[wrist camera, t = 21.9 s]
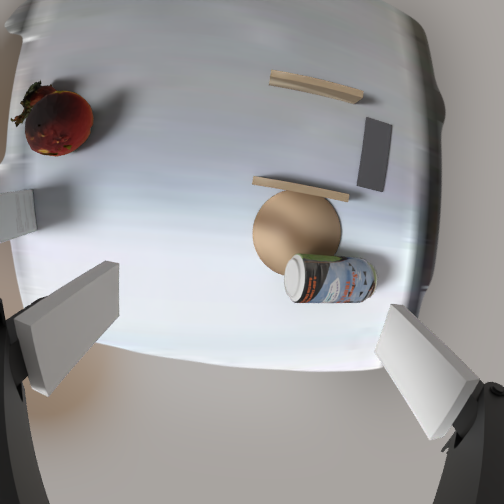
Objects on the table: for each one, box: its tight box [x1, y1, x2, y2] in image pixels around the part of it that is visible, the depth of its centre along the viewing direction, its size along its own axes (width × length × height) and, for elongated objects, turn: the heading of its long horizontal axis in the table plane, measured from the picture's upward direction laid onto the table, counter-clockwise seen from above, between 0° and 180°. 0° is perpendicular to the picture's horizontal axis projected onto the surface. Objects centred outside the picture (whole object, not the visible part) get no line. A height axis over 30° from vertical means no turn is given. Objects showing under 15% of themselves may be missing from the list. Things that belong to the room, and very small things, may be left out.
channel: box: [252, 70, 363, 202], centre depth 34 cm, size 15×12×4 cm
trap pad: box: [357, 117, 392, 192], centre depth 36 cm, size 10×4×1 cm, turn 171°
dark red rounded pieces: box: [11, 80, 93, 156], centre depth 32 cm, size 12×12×15 cm
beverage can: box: [284, 253, 377, 303], centre depth 36 cm, size 6×7×12 cm
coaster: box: [253, 190, 341, 275], centre depth 39 cm, size 12×12×1 cm
